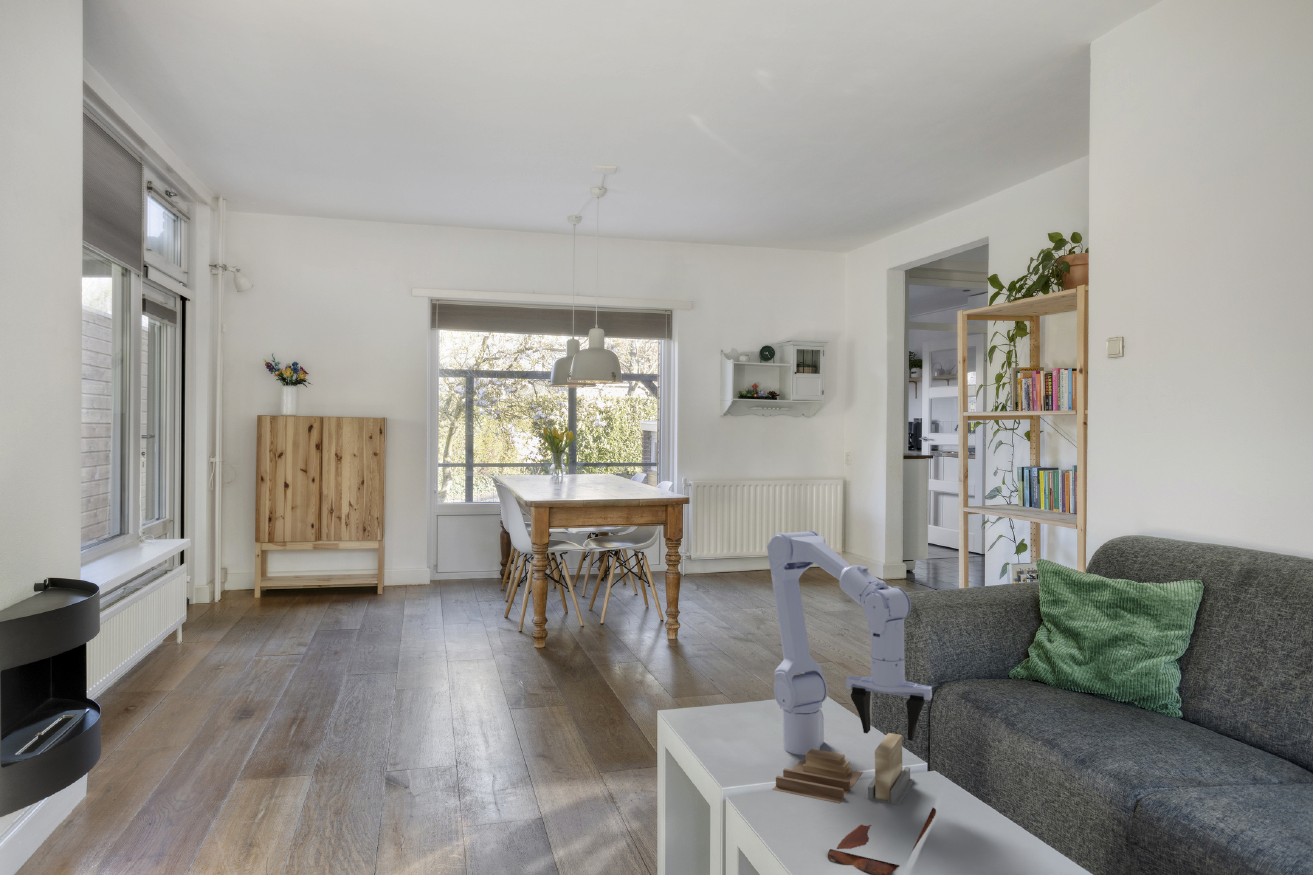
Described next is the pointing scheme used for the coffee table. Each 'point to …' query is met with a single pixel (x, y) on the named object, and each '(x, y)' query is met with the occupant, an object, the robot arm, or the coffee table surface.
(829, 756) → the offcut stack
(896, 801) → the grey channel block
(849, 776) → the walnut rack
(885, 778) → the birch panel
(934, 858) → the coffee table surface
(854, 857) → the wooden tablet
